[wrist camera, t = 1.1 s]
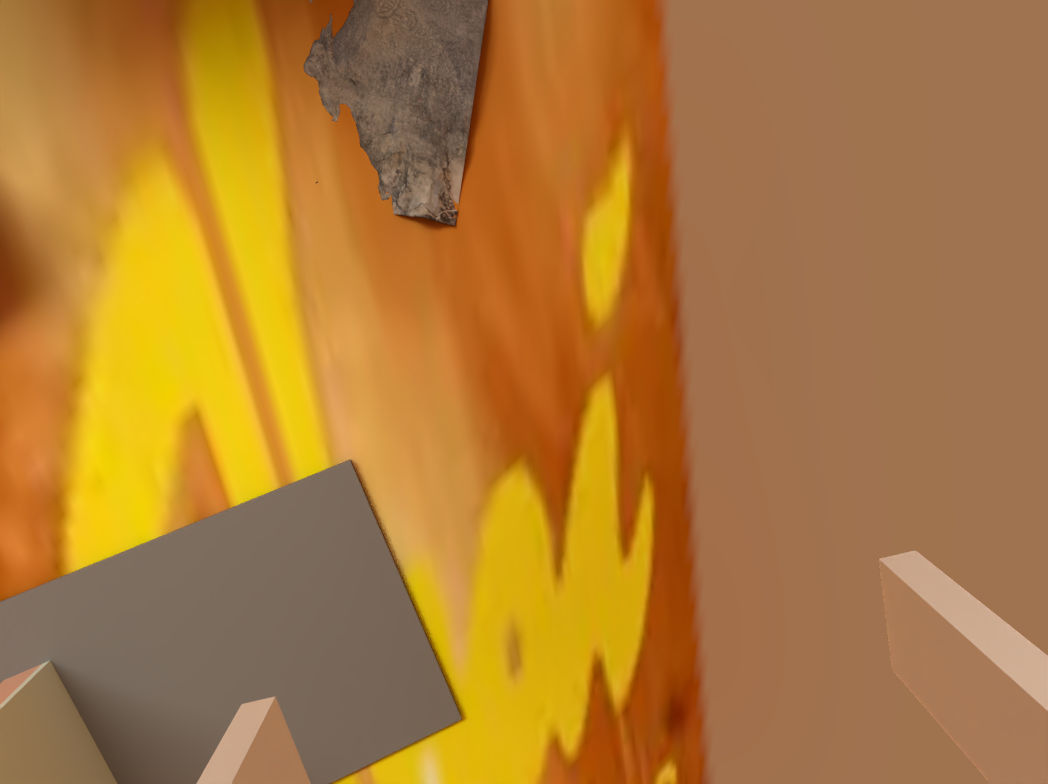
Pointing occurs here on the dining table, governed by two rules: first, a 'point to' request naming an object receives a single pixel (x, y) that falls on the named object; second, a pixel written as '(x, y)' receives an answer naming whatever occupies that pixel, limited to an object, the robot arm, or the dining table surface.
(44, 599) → the rubber mat
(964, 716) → the robot arm
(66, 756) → the terracotta tile
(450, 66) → the stone slab
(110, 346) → the dining table surface
